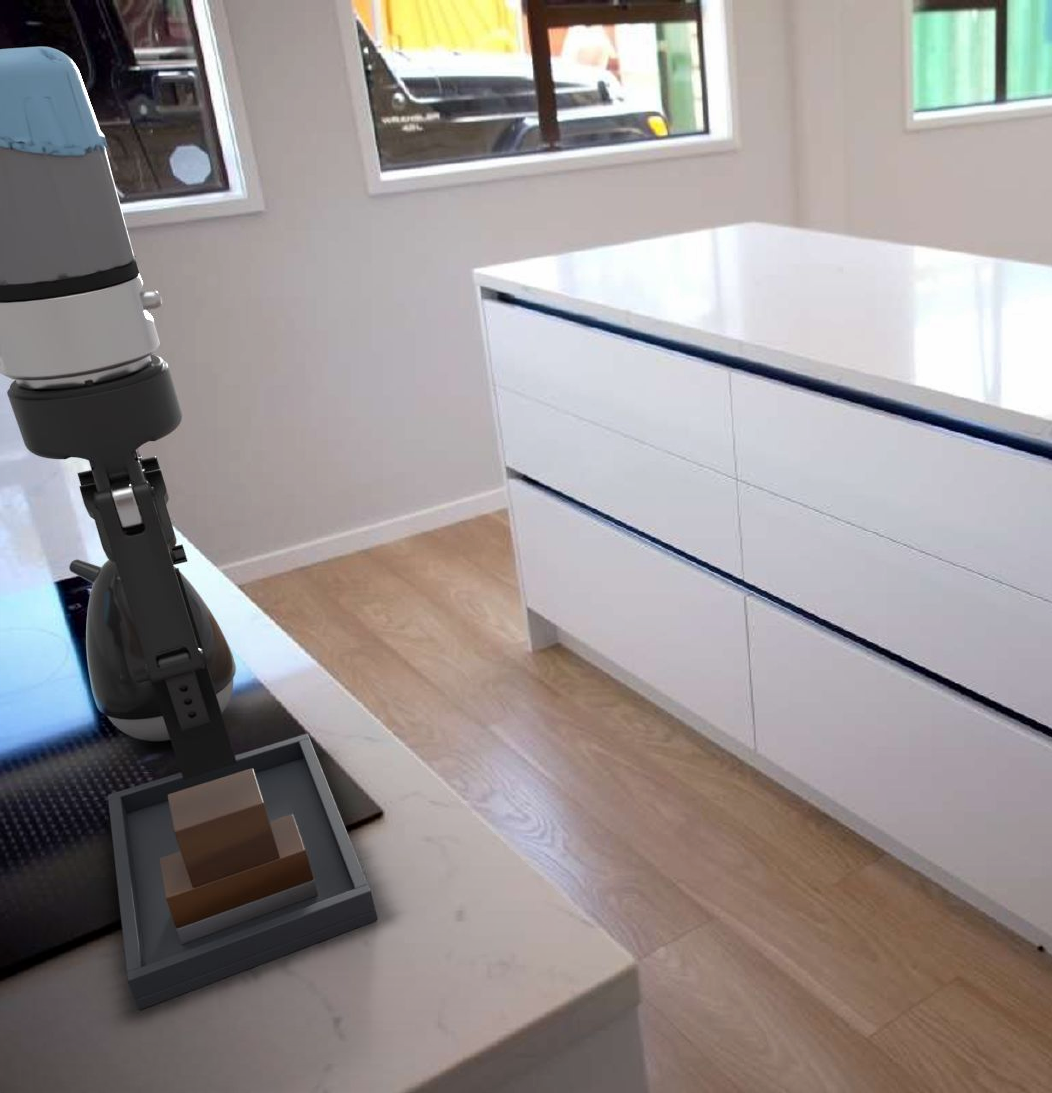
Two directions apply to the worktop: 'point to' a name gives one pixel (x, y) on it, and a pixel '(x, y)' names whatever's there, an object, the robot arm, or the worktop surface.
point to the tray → (180, 968)
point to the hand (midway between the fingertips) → (196, 714)
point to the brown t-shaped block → (231, 858)
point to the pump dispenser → (139, 654)
